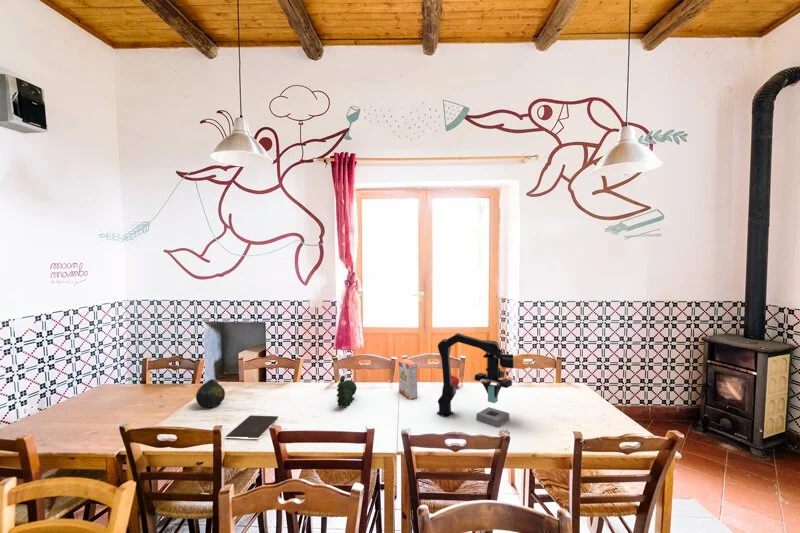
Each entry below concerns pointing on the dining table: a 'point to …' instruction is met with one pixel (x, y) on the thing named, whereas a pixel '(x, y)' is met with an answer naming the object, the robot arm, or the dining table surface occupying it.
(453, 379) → the pomegranate
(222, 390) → the squash
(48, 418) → the dining table surface
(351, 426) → the dining table surface
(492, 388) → the teal rectangular block
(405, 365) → the cracker box
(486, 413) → the socket block
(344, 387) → the toy figurine
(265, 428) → the hardcover book
